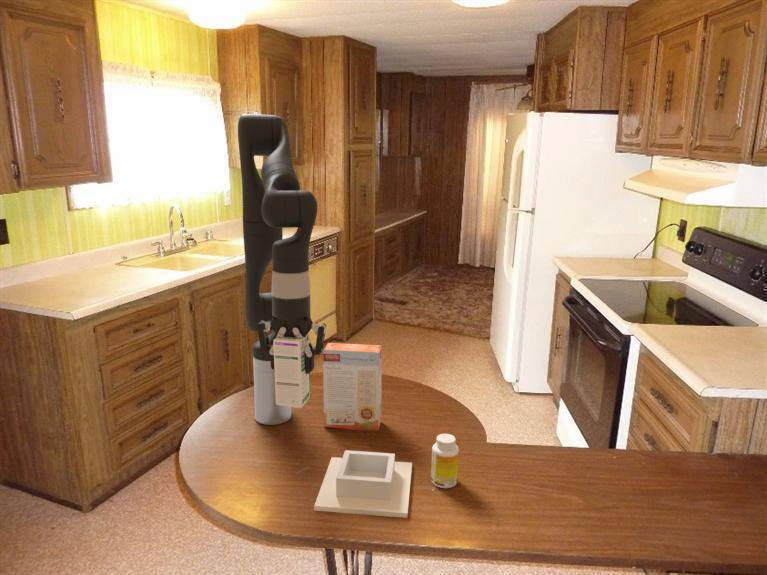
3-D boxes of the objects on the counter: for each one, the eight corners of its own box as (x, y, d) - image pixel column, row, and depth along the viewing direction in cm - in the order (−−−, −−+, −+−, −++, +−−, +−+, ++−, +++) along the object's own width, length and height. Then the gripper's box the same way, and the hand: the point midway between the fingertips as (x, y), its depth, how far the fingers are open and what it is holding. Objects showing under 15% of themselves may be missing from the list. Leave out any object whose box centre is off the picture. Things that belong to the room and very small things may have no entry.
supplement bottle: (462, 485, 118) (464, 441, 115) (439, 492, 115) (441, 447, 113) (448, 472, 123) (450, 429, 120) (425, 478, 120) (427, 434, 118)
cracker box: (381, 421, 145) (383, 344, 140) (378, 432, 140) (379, 352, 135) (328, 416, 147) (328, 340, 142) (323, 427, 141) (322, 348, 136)
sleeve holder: (331, 461, 126) (331, 440, 125) (412, 466, 124) (412, 446, 123) (314, 510, 109) (314, 487, 107) (407, 517, 107) (408, 494, 106)
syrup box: (301, 408, 114) (301, 340, 110) (274, 405, 115) (272, 338, 111) (311, 397, 119) (310, 332, 116) (284, 394, 120) (283, 329, 117)
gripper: (330, 289, 114) (330, 366, 118) (261, 286, 116) (263, 363, 120) (323, 298, 107) (323, 380, 111) (249, 295, 108) (252, 376, 112)
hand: (292, 371), depth 115 cm, fingers closed on syrup box, 6 cm apart
